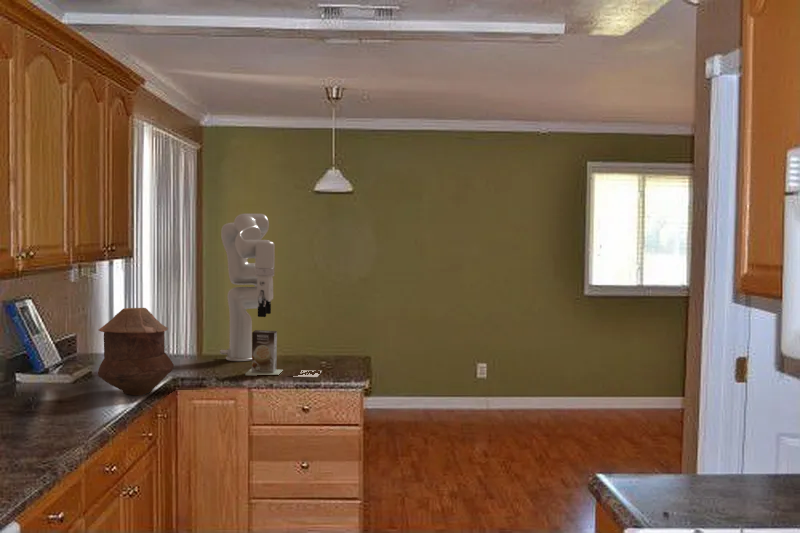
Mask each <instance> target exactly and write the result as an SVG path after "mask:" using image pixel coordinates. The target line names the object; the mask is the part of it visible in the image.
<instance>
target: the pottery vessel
mask: <svg viewBox="0 0 800 533" xmlns="http://www.w3.org/2000/svg"><path fill="white" fill-rule="evenodd" d="M168 330H169V327H167V326H165V325H164V324H162V323H161V322H160V321H159V320H158V319H156V317H155V316H154V315H153V314H152V313H151V312H150V311H149V310H148V309H147V308H146V307H126V308H122V309H121V310H120V311H119V312H118V313H116V314H115V315H114V316H113V317H112V318H111V319H110V320H109V321H107V322H106V323H105V324H104V325H103V326H101V327H100V328H99V329H98V331H99V332H102V333H103V360H102V361H101V363H100V364H99V367H98V371H97V376H98V377H99V378H100V379H102V380H103V381H104V382H105V383H107V384H109V385H110V386H112V387H114V388H116V389H117V390H120V391H122V393H123V394H125V395H131V396H143V394H145V395H147V394H146V393H149V392H151V391H152V392H153V390H154V388H156V387H157V386H158V385H159V384H160V383H161V382H162V380H164V379H165V378H166V377H167V376H168V375H169V374H170V373H171V372H172V371H173V369H174V367H175V365H174V363H173V361H172V359H171V358H170V357H169V356H168V355H167V353H166V349H165V347H166V346H165V345H166V344H165V343H166V342H165V340H166V339H165V338H166V337H165V333H166V331H168ZM152 392H151V393H152ZM149 394H150V393H149Z"/></svg>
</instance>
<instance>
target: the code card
mask: <svg viewBox="0 0 800 533" xmlns="http://www.w3.org/2000/svg"><path fill="white" fill-rule="evenodd" d="M302 371H303V372H302ZM307 371H308V372H309V371H310V370H304V369H303V370H302V369H301V372H300V374H302V373H305V372H307ZM311 371H312V372H314V371H315V370H311ZM319 371H320V374H321V373H323V372H322V371H323V370H319ZM307 374H308V373H306V375H305V374H303V375H298V376H293V377H294V378H300V377H301V378H318V377H319V375H320V374H318V373H315V374H314V375H312V374H310V373H309V374H308V375H307Z"/></svg>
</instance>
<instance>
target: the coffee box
mask: <svg viewBox="0 0 800 533" xmlns="http://www.w3.org/2000/svg"><path fill="white" fill-rule="evenodd" d="M277 344H278V330H261V329H260V330H259V329H257V330H256V329H255V330H252V360H251V369H252V372H264V373H274V372H275V371H276V369H277V350H278V348H277V346H278V345H277Z"/></svg>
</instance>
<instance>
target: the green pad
mask: <svg viewBox="0 0 800 533" xmlns="http://www.w3.org/2000/svg"><path fill="white" fill-rule="evenodd" d="M282 371H284V369H280V368H279V369H277V368H276V371H275V372H274V373H264V372H252V368H250V369H249V370H247V371H246V372H245V376H257V375H279V374H280V373H281V372H282ZM282 373H283V372H282ZM282 373H281V374H282ZM281 374H280V375H281ZM280 375H279V376H280Z"/></svg>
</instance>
